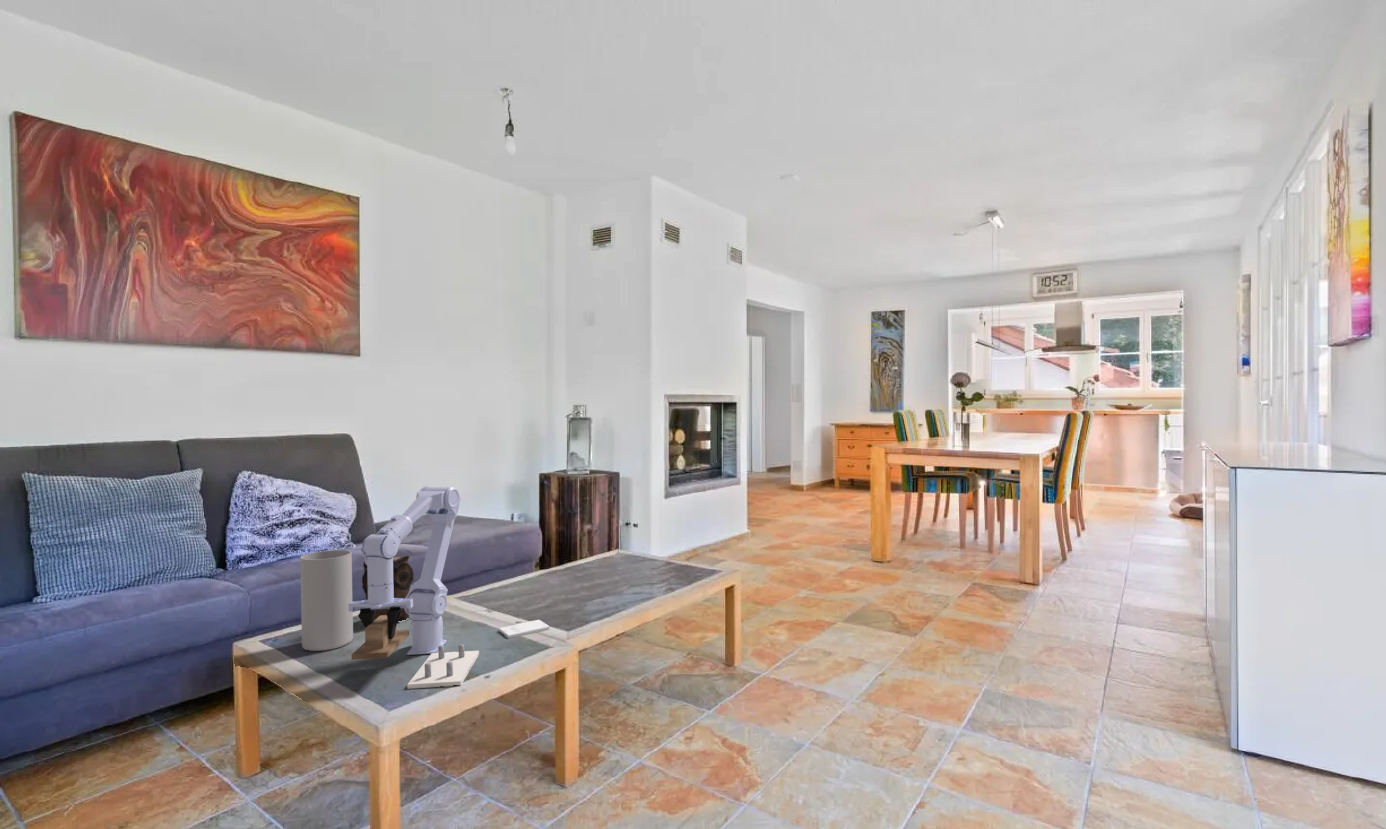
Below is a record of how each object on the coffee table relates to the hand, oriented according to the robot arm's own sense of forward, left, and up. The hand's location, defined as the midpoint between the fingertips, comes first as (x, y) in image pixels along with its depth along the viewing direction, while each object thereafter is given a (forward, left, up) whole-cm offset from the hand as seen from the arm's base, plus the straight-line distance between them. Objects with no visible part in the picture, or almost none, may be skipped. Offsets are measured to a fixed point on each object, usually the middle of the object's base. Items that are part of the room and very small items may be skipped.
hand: (381, 638), depth 161 cm
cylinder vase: (-25, -23, -9) cm, 35 cm away
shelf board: (0, 0, -2) cm, 2 cm away
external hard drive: (-28, +30, -10) cm, 42 cm away
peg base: (0, +15, -9) cm, 17 cm away
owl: (-45, -13, -9) cm, 48 cm away
